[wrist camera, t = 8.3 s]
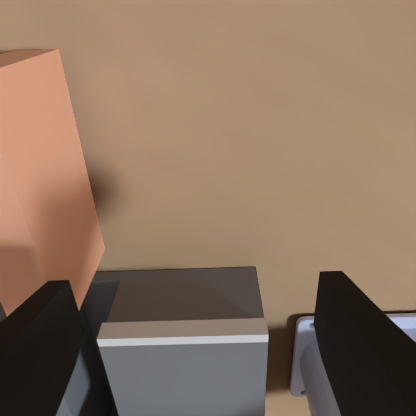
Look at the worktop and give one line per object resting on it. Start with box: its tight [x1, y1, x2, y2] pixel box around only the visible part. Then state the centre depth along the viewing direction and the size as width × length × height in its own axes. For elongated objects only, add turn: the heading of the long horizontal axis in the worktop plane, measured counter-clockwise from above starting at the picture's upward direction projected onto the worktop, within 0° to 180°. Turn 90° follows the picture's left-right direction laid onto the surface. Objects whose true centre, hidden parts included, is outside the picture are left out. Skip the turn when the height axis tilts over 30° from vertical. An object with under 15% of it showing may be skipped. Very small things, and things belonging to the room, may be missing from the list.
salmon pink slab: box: [0, 49, 105, 316], centre depth 15 cm, size 2×10×6 cm, turn 3°
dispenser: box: [0, 267, 269, 416], centre depth 21 cm, size 19×14×10 cm
